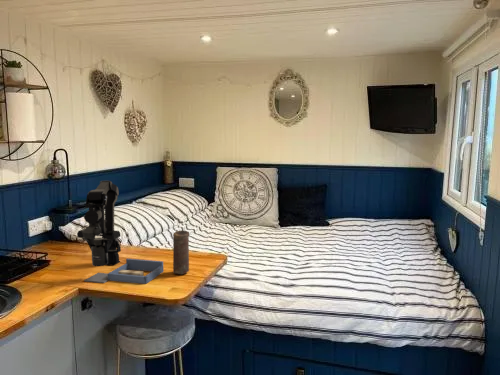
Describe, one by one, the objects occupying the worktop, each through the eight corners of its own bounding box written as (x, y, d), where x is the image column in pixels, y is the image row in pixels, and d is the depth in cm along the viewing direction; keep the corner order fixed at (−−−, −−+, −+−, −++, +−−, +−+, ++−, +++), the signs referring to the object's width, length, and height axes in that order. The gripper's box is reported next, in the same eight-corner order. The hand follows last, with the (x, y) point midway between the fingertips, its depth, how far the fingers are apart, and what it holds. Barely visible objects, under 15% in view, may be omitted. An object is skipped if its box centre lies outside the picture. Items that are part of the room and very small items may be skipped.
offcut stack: (115, 280, 172) (114, 271, 172) (119, 277, 175) (118, 269, 175) (141, 282, 170) (140, 273, 169) (144, 280, 172) (144, 271, 172)
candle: (192, 271, 182) (191, 230, 180) (184, 276, 176) (183, 234, 173) (178, 269, 185) (177, 229, 182) (170, 274, 178) (169, 233, 176)
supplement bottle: (93, 267, 168) (91, 241, 167) (91, 263, 174) (89, 238, 173) (109, 265, 171) (107, 239, 170) (107, 261, 178) (105, 236, 176)
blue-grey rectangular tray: (107, 280, 171) (107, 269, 171) (127, 268, 187) (127, 258, 187) (146, 283, 167) (145, 272, 166) (163, 271, 183) (163, 261, 182)
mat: (84, 281, 170) (84, 280, 170) (98, 273, 180) (98, 272, 180) (103, 283, 168) (103, 282, 168) (117, 275, 177) (116, 274, 177)
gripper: (67, 221, 165) (69, 256, 167) (105, 223, 160) (107, 259, 162) (84, 216, 175) (86, 249, 177) (120, 218, 171) (121, 251, 173)
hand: (99, 252), depth 172 cm, fingers closed on supplement bottle, 7 cm apart
